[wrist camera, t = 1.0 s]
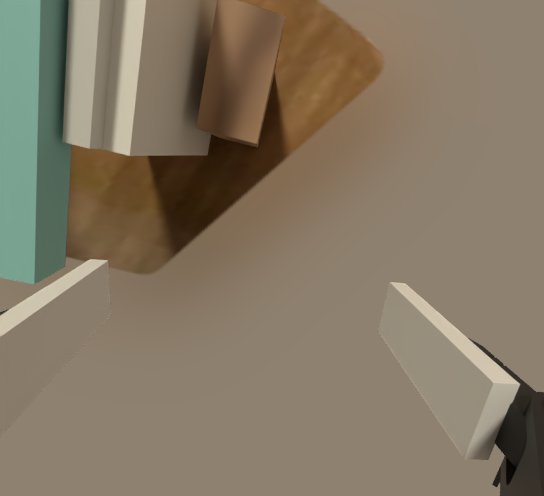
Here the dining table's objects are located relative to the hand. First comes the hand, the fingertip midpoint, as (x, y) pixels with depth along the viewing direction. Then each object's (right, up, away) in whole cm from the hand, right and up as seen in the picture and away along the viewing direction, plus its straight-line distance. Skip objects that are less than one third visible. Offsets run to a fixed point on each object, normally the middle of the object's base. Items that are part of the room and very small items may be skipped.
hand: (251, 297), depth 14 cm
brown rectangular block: (-3, +24, +32) cm, 40 cm away
